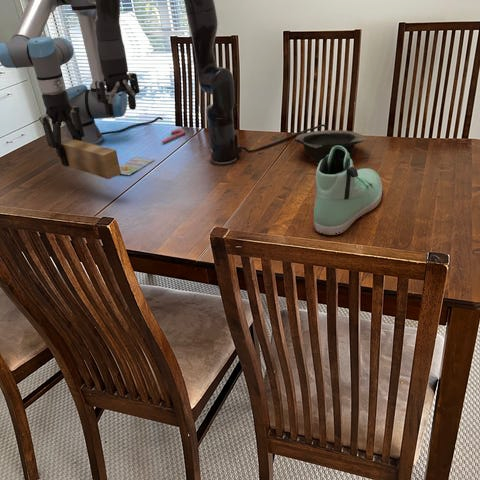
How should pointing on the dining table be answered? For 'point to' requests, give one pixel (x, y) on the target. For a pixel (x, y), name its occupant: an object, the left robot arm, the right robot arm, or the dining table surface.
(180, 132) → the candy cane
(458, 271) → the dining table surface
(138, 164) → the baking ingredient package
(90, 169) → the bar
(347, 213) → the sneaker
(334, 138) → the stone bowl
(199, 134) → the dining table surface
